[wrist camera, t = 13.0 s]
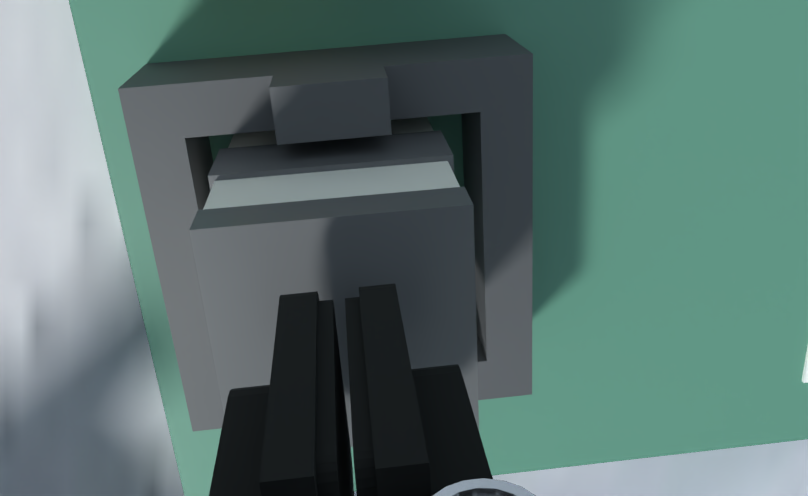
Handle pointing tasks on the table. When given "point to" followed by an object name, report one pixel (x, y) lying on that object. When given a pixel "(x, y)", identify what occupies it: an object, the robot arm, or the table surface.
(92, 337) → the table surface
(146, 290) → the board
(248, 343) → the plug
